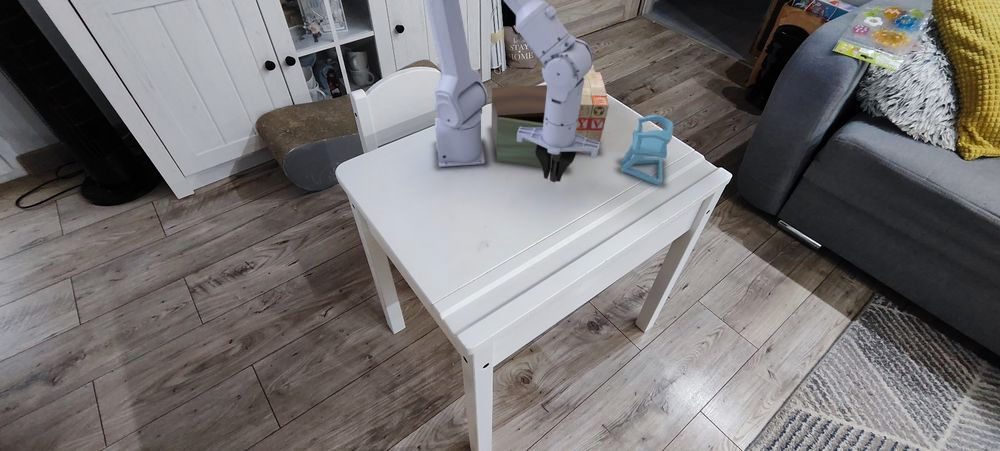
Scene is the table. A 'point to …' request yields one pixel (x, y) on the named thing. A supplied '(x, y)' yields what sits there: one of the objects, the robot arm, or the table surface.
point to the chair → (648, 148)
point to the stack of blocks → (592, 107)
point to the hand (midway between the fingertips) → (552, 176)
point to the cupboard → (518, 105)
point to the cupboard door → (520, 145)
